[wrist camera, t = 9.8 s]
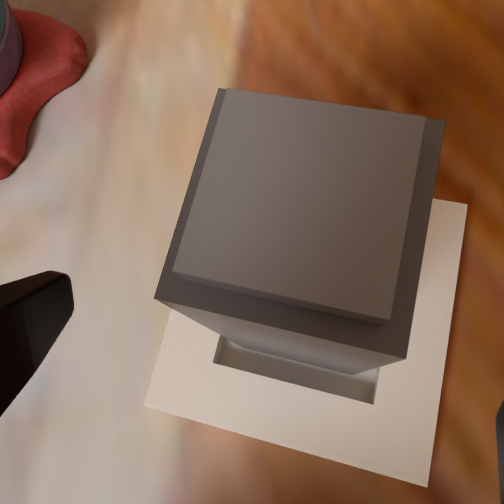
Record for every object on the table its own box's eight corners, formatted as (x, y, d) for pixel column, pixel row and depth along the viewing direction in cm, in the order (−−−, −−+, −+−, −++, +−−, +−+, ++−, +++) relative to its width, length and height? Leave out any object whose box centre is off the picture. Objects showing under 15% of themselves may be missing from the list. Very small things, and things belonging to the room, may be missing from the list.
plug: (372, 267, 22) (457, 97, 9) (352, 375, 20) (415, 356, 8) (269, 246, 22) (211, 65, 10) (243, 347, 21) (139, 290, 9)
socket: (459, 214, 22) (467, 204, 21) (420, 481, 19) (427, 487, 18) (220, 171, 24) (215, 160, 23) (152, 404, 21) (143, 405, 20)
